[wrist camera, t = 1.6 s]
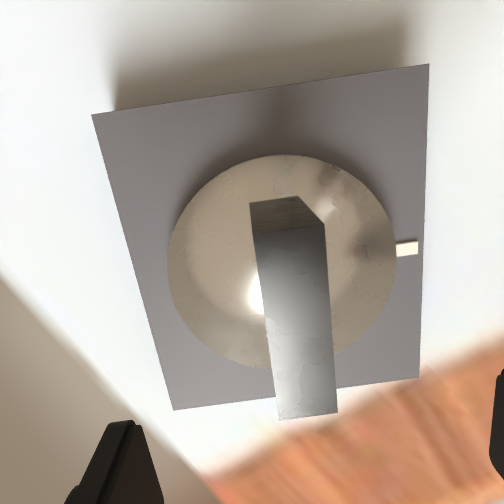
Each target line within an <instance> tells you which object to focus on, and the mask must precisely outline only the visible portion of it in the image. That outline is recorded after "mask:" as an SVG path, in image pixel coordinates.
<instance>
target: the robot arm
mask: <svg viewBox="0 0 504 504" xmlns="http://www.w3.org/2000/svg"><path fill="white" fill-rule="evenodd" d="M489 456H490V460H491V462H492V464H493V466H494V468H495V469H496V471H497V472H498V473H499V474H500V476H501V477H502V478H503V480H504V369H503V370H502V372H501V375H498V377H497V379H496V388H495V398H494V408H493V418H492V427H491V437H490V447H489ZM64 504H164V498H163V494H162V491H161V488H160V484H159V481H158V478H157V474H156V471H155V468H154V465H153V461H152V458H151V455H150V452H149V448H148V445H147V442H146V439H145V435H144V432H143V429H142V427H141V425H136V424H135V422H134V421H133V420H127V421H120V422H112V423H110V424H108V426H107V428H106V430H105V431H104V434H103V436H102V438H101V440H100V442H99V444H98V446H97V448H96V451H95V453H94V455H93V457H92V459H91V461H90V463H89V465H88V467H87V470H86V472H85V474H84V476H83V478H82V480H81V482H80V484H79V485H77V486H76V487H75V488H74V489H72V491H71V492H70V494H69V495H68V497H67V499H66V501H65V503H64Z"/></svg>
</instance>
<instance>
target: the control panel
mask: <svg viewBox="0 0 504 504" xmlns="http://www.w3.org/2000/svg"><path fill="white" fill-rule="evenodd" d="M428 86H429V64H423V65H416V66H410V67H403V68H396V69H390V70H383V71H377V72H370V73H363V74H357V75H350V76H343V77H337V78H330V79H324V80H317V81H310V82H304V83H297V84H290V85H284V86H277V87H271V88H264V89H257V90H251V91H244V92H237V93H231V94H224V95H218V96H211V97H204V98H198V99H191V100H184V101H178V102H171V103H165V104H158V105H151V106H145V107H138V108H131V109H125V110H118V111H112V112H105V113H98V114H92V115H91V116H92V120H93V123H94V127H95V131H96V134H97V138H98V141H99V145H100V149H101V152H102V156H103V159H104V163H105V167H106V170H107V174H108V177H109V181H110V184H111V188H112V192H113V195H114V199H115V202H116V206H117V210H118V213H119V217H120V220H121V224H122V228H123V231H124V235H125V238H126V242H127V246H128V249H129V253H130V256H131V260H132V264H133V267H134V271H135V274H136V278H137V282H138V285H139V289H140V292H141V296H142V300H143V303H144V307H145V310H146V314H147V318H148V321H149V325H150V328H151V332H152V335H153V339H154V343H155V346H156V350H157V353H158V357H159V361H160V364H161V368H162V371H163V375H164V379H165V382H166V386H167V389H168V393H169V397H170V400H171V404H172V407H173V410H181V409H188V408H196V407H203V406H211V405H218V404H225V403H233V402H240V401H248V400H255V399H263V398H270V397H276V393H275V386H274V380H273V373H272V369H263V368H256V367H251V366H247V365H243V364H240V363H237V362H234V361H232V360H229V359H227V358H225V357H223V356H221V355H219V354H217V353H216V352H214V351H213V350H211V349H210V348H208V347H207V346H206V345H204V344H203V343H202V342H201V341H200V340H199V339H198V338H197V337H195V335H194V334H193V333H192V332H191V331H190V330H189V328H188V327H187V326H186V325H185V323H184V322H183V320H182V318H181V317H180V315H179V313H178V311H177V309H176V307H175V305H174V303H173V300H172V297H171V293H170V290H169V285H168V279H167V256H168V248H169V244H170V240H171V236H172V233H173V231H174V228H175V226H176V224H177V221H178V219H179V218H180V216H181V214H182V213H183V211H184V209H185V208H186V206H187V205H188V203H189V202H190V201H191V200H192V198H193V197H194V196H195V195H196V194H197V192H198V191H199V190H200V189H201V188H202V187H203V186H204V185H205V184H207V183H208V182H209V181H210V180H211V179H213V178H214V177H215V176H217V175H218V174H220V173H221V172H222V171H224V170H226V169H228V168H230V167H232V166H234V165H236V164H238V163H241V162H244V161H247V160H249V159H253V158H257V157H262V156H266V155H278V154H288V155H301V156H306V157H311V158H315V159H318V160H321V161H324V162H327V163H330V164H332V165H335V166H337V167H339V168H341V169H342V170H344V171H346V172H348V173H350V174H351V175H352V176H354V177H355V178H356V179H358V180H359V181H361V182H362V183H363V184H364V185H365V186H366V187H367V188H368V189H369V190H370V191H371V192H372V193H373V195H374V196H375V197H376V199H377V200H378V201H379V202H380V204H381V205H382V207H383V209H384V211H385V213H386V215H387V216H388V219H389V221H390V224H391V227H392V229H393V233H394V238H395V243H396V254H397V262H396V273H395V278H394V283H393V287H392V290H391V292H390V295H389V298H388V300H387V302H386V304H385V306H384V308H383V310H382V312H381V313H380V315H379V316H378V318H377V319H376V321H375V322H374V323H373V324H372V326H371V327H370V328H369V329H368V330H367V331H366V332H365V333H364V334H363V335H362V336H361V337H360V338H359V339H358V340H357V341H356V342H354V343H353V344H351V345H350V346H349V347H347V348H346V349H345V350H343V351H341V352H339V353H338V354H336V355H334V365H335V380H336V389H337V388H345V387H352V386H360V385H367V384H375V383H382V382H390V381H397V380H404V379H412V378H419V367H420V336H421V305H422V274H423V242H424V211H425V180H426V149H427V118H428Z"/></svg>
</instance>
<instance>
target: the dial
mask: <svg viewBox="0 0 504 504" xmlns="http://www.w3.org/2000/svg"><path fill="white" fill-rule="evenodd" d="M396 262H397V254H396V243H395V238H394V233H393V229H392V227H391V224H390V221H389V219H388V216H387V215H386V213H385V211H384V209H383V207H382V205H381V204H380V202H379V201H378V200H377V199H376V197H375V196H374V195H373V193H372V192H371V191H370V190H369V189H368V188H367V187H366V186H365V185H364V184H363V183H362V182H361V181H359V180H358V179H356V178H355V177H354V176H352V175H351V174H350V173H348V172H346V171H344V170H342V169H341V168H339V167H337V166H335V165H332V164H330V163H327V162H324V161H321V160H318V159H315V158H311V157H306V156H301V155H288V154H278V155H266V156H262V157H257V158H253V159H249V160H247V161H244V162H241V163H238V164H236V165H234V166H232V167H230V168H228V169H226V170H224V171H222V172H221V173H220V174H218V175H217V176H215V177H214V178H213V179H211V180H210V181H209V182H208V183H207V184H205V185H204V186H203V187H202V188H201V189H200V190H199V191H198V192H197V194H196V195H195V196H194V197H193V198H192V200H191V201H190V202H189V203H188V205H187V206H186V208H185V209H184V211H183V213H182V214H181V216H180V218H179V219H178V221H177V224H176V226H175V228H174V231H173V233H172V236H171V240H170V244H169V248H168V256H167V279H168V285H169V290H170V293H171V297H172V300H173V303H174V305H175V307H176V309H177V311H178V313H179V315H180V317H181V318H182V320H183V322H184V323H185V325H186V326H187V327H188V328H189V330H190V331H191V332H192V333H193V334H194V335H195V337H197V338H198V339H199V340H200V341H201V342H202V343H203V344H204V345H206V346H207V347H208V348H210V349H211V350H213V351H214V352H216V353H217V354H219V355H221V356H223V357H225V358H227V359H229V360H232V361H234V362H237V363H240V364H243V365H247V366H251V367H256V368H263V369H272V373H273V380H274V386H275V393H276V400H277V407H278V414H279V420H287V419H294V418H302V417H309V416H317V415H325V414H332V413H338V408H337V394H336V380H335V365H334V355H336V354H338V353H339V352H341V351H343V350H345V349H346V348H347V347H349V346H350V345H351V344H353V343H354V342H356V341H357V340H358V339H359V338H360V337H361V336H362V335H363V334H364V333H365V332H366V331H367V330H368V329H369V328H370V327H371V326H372V324H373V323H374V322H375V321H376V319H377V318H378V316H379V315H380V313H381V312H382V310H383V308H384V306H385V304H386V302H387V300H388V298H389V295H390V292H391V290H392V287H393V283H394V278H395V273H396Z"/></svg>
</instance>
